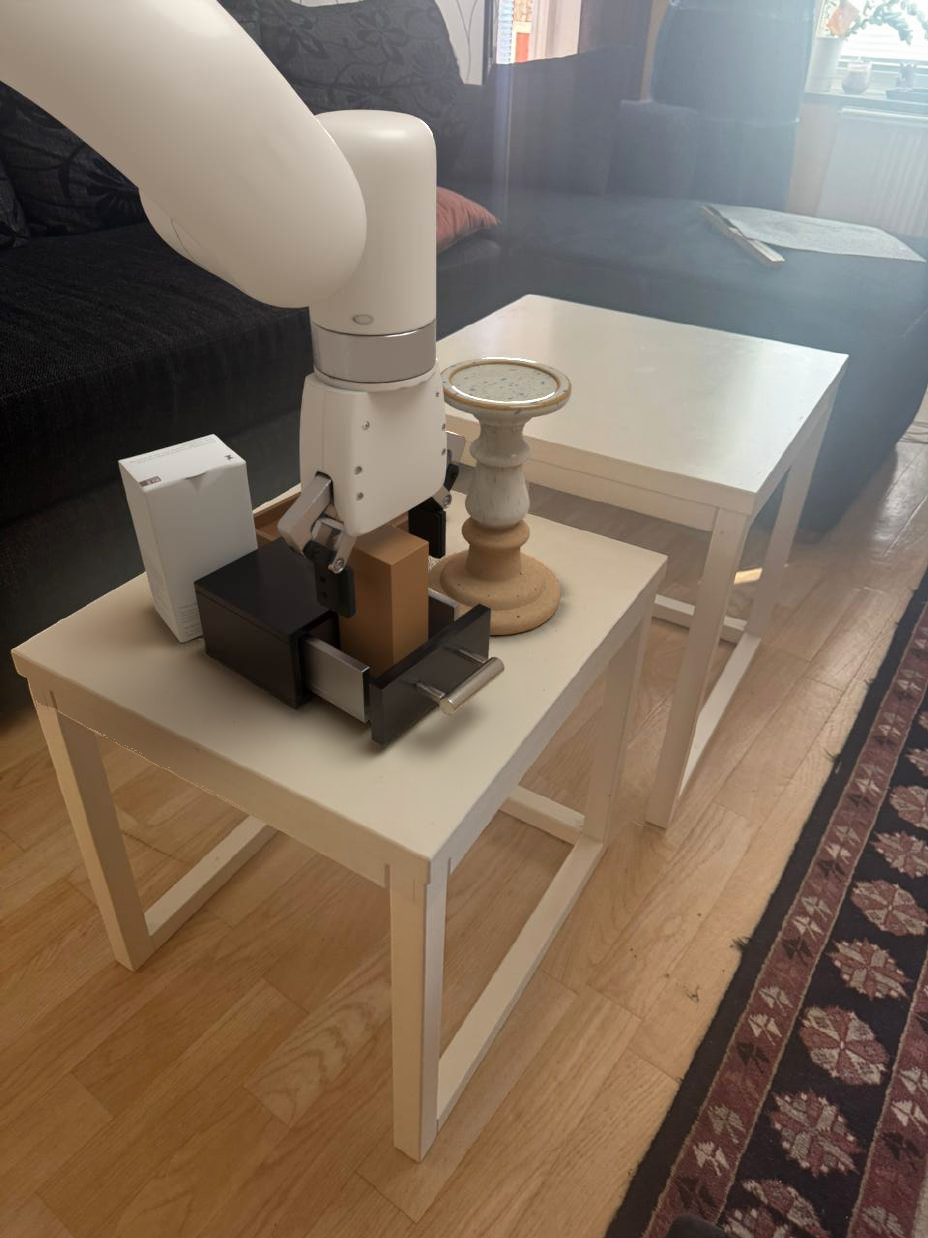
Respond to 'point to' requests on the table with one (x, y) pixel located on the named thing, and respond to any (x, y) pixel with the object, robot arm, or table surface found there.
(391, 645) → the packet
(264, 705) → the table surface
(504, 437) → the candle holder
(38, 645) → the table surface
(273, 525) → the tray
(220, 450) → the cosmetic box
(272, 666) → the black drawer housing
